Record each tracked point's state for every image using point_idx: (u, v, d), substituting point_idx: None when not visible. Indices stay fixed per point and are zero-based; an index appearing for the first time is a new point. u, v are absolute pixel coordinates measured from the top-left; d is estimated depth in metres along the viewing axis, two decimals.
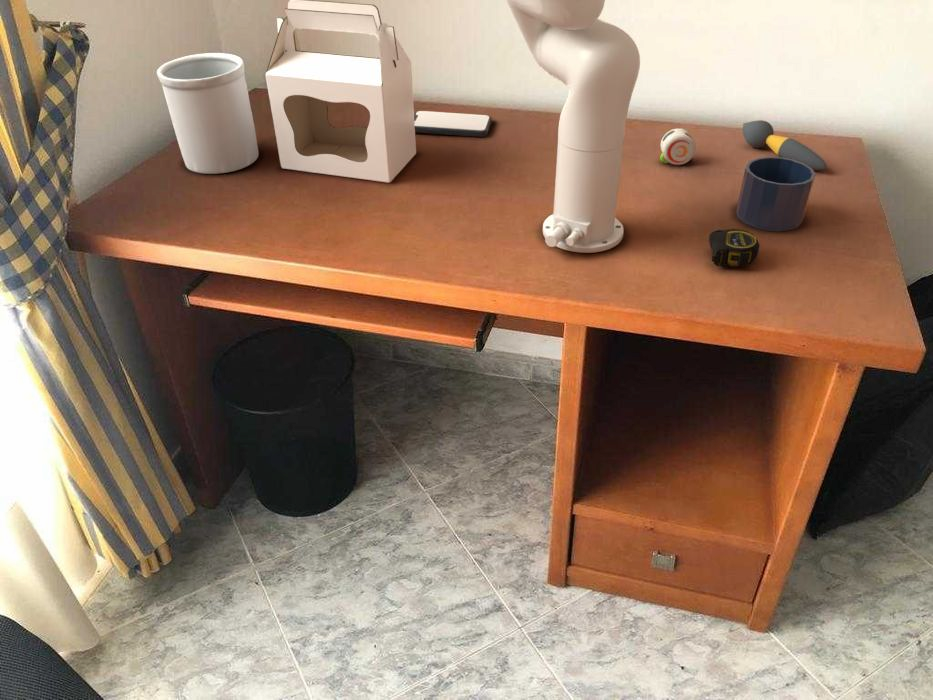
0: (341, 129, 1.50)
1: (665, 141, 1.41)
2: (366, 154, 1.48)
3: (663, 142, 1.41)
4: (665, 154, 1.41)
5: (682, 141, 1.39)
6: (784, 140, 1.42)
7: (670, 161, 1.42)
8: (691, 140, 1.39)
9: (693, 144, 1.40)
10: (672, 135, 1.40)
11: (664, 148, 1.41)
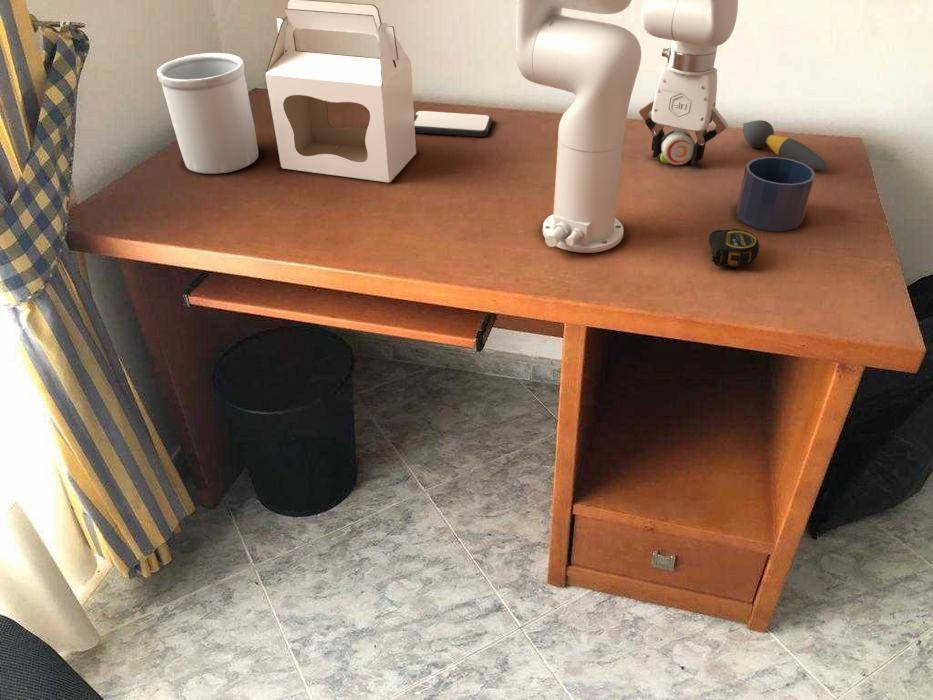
0: (341, 129, 1.50)
1: (665, 141, 1.41)
2: (366, 154, 1.48)
3: (663, 142, 1.41)
4: (665, 154, 1.41)
5: (682, 141, 1.39)
6: (784, 140, 1.42)
7: (670, 161, 1.42)
8: (691, 140, 1.39)
9: (693, 144, 1.40)
10: (672, 135, 1.40)
11: (664, 148, 1.41)
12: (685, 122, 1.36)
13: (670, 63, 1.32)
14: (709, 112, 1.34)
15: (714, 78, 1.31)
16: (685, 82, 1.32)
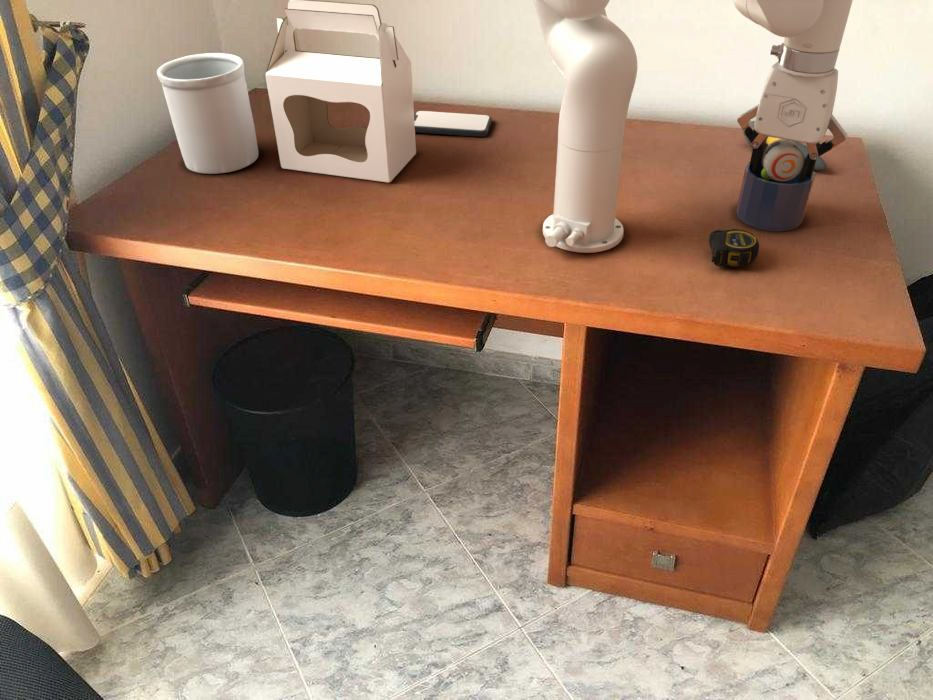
0: (341, 129, 1.50)
1: (769, 154, 1.20)
2: (366, 154, 1.48)
3: (766, 155, 1.20)
4: (769, 169, 1.20)
5: (790, 154, 1.18)
6: None
7: (774, 178, 1.21)
8: (801, 153, 1.18)
9: (803, 158, 1.19)
10: (778, 147, 1.19)
11: (768, 162, 1.20)
12: (797, 132, 1.15)
13: (782, 63, 1.11)
14: (827, 121, 1.13)
15: (836, 80, 1.10)
16: (800, 85, 1.11)
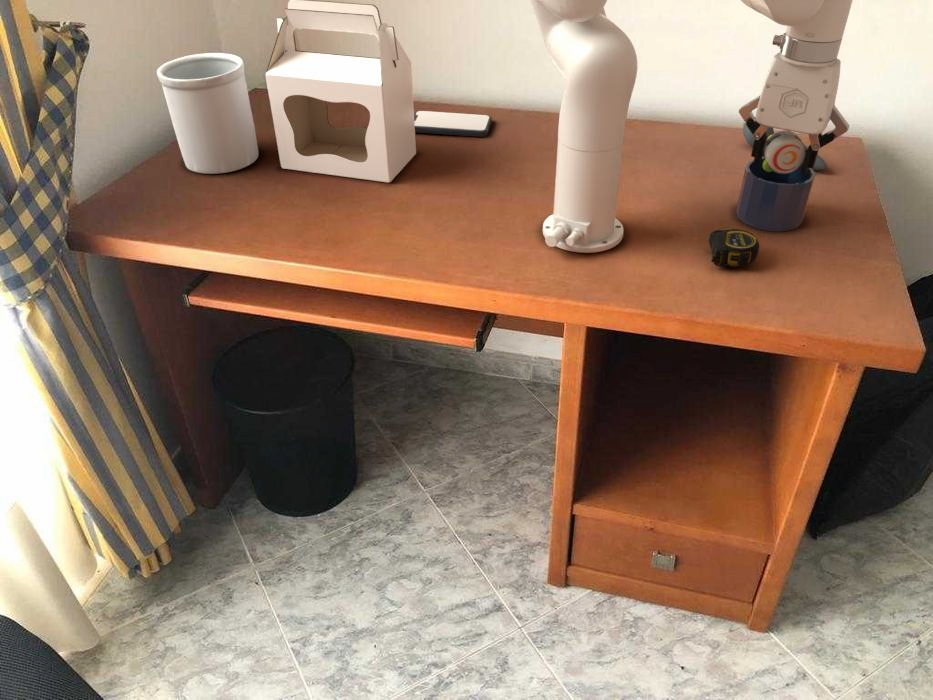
0: (341, 129, 1.50)
1: (770, 146, 1.19)
2: (366, 154, 1.48)
3: (767, 147, 1.20)
4: (770, 161, 1.19)
5: (792, 145, 1.17)
6: None
7: (775, 169, 1.20)
8: (802, 144, 1.17)
9: (804, 149, 1.18)
10: (779, 138, 1.18)
11: (769, 154, 1.19)
12: (799, 123, 1.14)
13: (784, 52, 1.10)
14: (829, 111, 1.12)
15: (838, 70, 1.09)
16: (803, 75, 1.10)
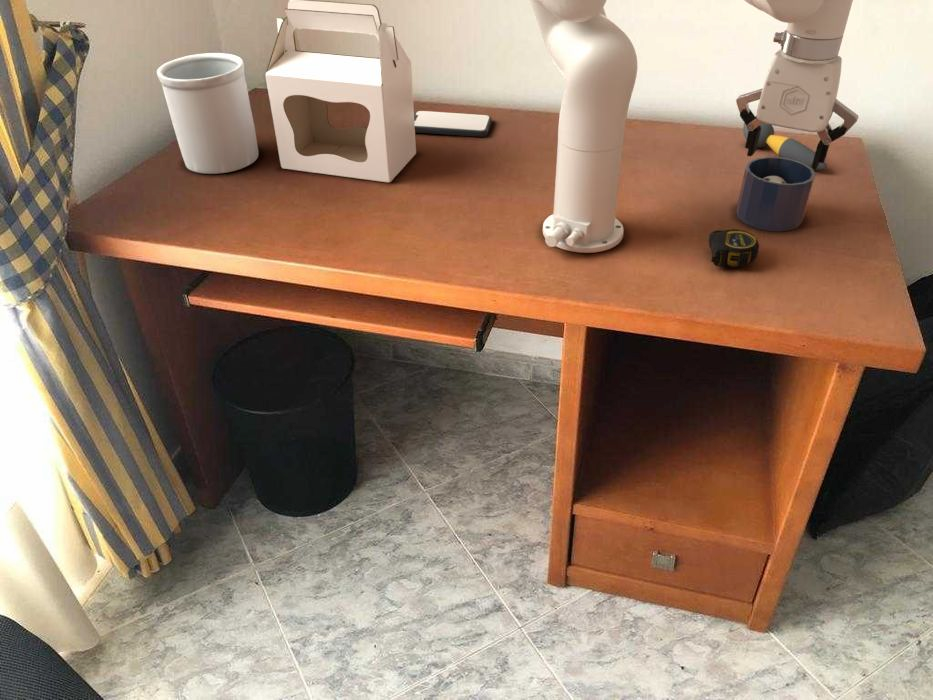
0: (341, 129, 1.50)
1: None
2: (366, 154, 1.48)
3: None
4: None
5: None
6: (785, 140, 1.42)
7: None
8: None
9: None
10: None
11: None
12: (800, 121, 1.14)
13: (785, 50, 1.10)
14: (830, 109, 1.11)
15: (839, 68, 1.09)
16: (804, 73, 1.10)
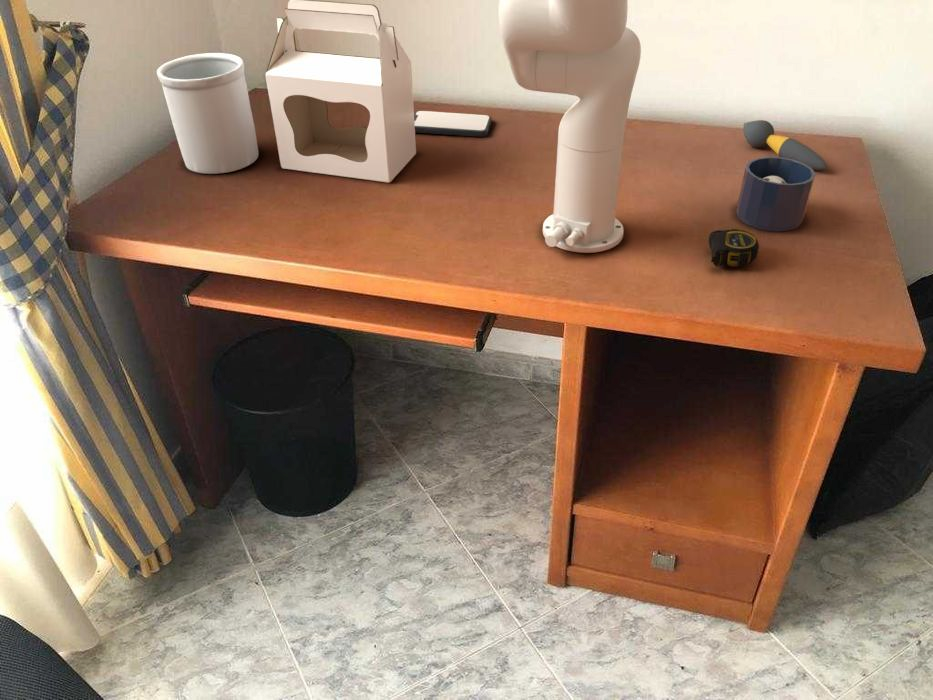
0: (341, 129, 1.50)
1: None
2: (366, 154, 1.48)
3: None
4: None
5: None
6: (785, 139, 1.42)
7: None
8: None
9: None
10: None
11: None
12: None
13: None
14: None
15: None
16: None
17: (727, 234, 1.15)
